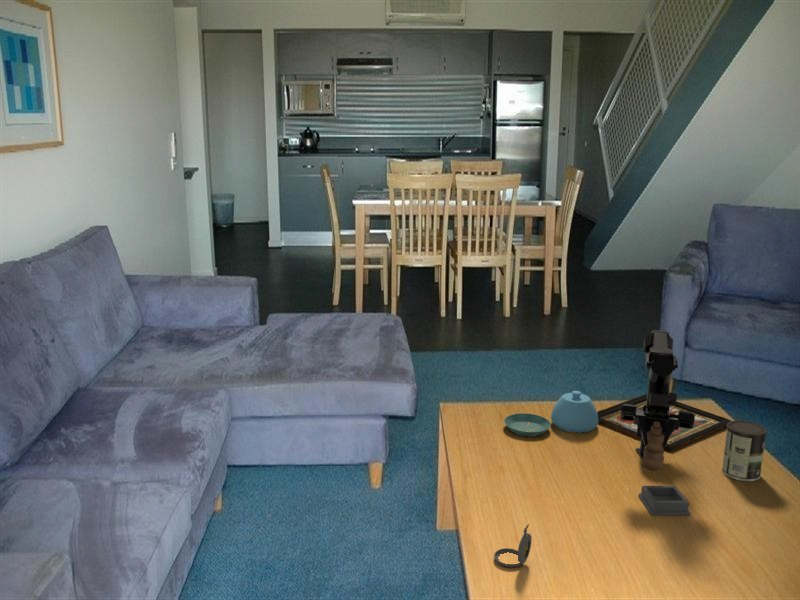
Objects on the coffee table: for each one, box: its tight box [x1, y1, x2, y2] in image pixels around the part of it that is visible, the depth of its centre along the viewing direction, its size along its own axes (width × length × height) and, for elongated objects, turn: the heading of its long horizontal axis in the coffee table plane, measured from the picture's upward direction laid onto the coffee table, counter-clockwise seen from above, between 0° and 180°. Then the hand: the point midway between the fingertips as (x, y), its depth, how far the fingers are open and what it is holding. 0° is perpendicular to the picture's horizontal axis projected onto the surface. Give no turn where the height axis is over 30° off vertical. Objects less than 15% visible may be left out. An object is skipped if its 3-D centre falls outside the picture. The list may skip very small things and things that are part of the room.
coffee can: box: [721, 420, 768, 482], centre depth 218 cm, size 10×10×14 cm
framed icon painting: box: [597, 393, 732, 453], centre depth 254 cm, size 38×35×3 cm
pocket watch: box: [493, 524, 532, 568], centre depth 174 cm, size 8×8×10 cm
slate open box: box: [637, 485, 692, 517], centre depth 201 cm, size 10×10×3 cm
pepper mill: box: [642, 421, 665, 472], centre depth 206 cm, size 5×5×13 cm
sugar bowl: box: [550, 390, 599, 434], centre depth 250 cm, size 15×15×12 cm
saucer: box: [503, 412, 552, 437], centre depth 247 cm, size 15×15×3 cm
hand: (654, 446), depth 204 cm, fingers closed on pepper mill, 4 cm apart
